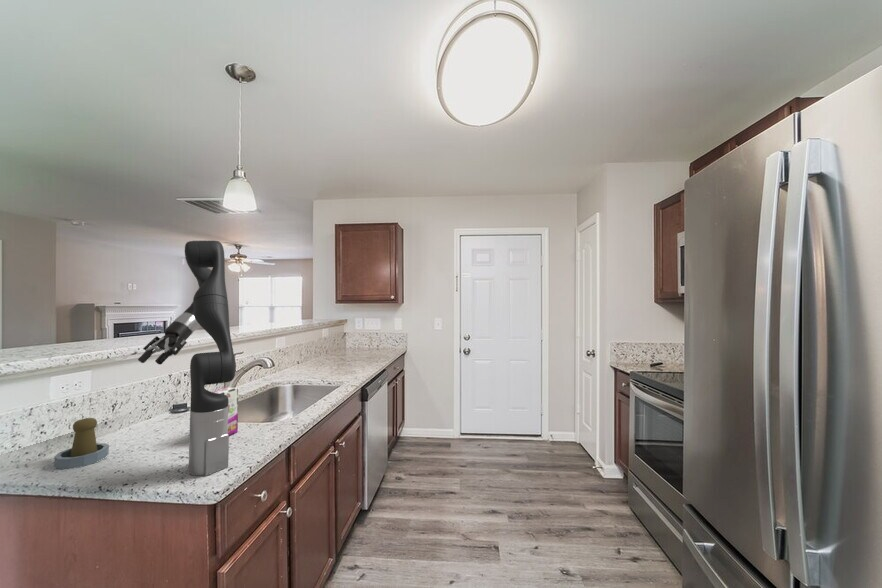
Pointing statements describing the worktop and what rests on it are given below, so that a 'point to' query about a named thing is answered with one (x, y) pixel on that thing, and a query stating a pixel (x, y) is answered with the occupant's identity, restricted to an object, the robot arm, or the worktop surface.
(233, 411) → the candy bar box
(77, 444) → the cork
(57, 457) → the dish
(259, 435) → the worktop surface
